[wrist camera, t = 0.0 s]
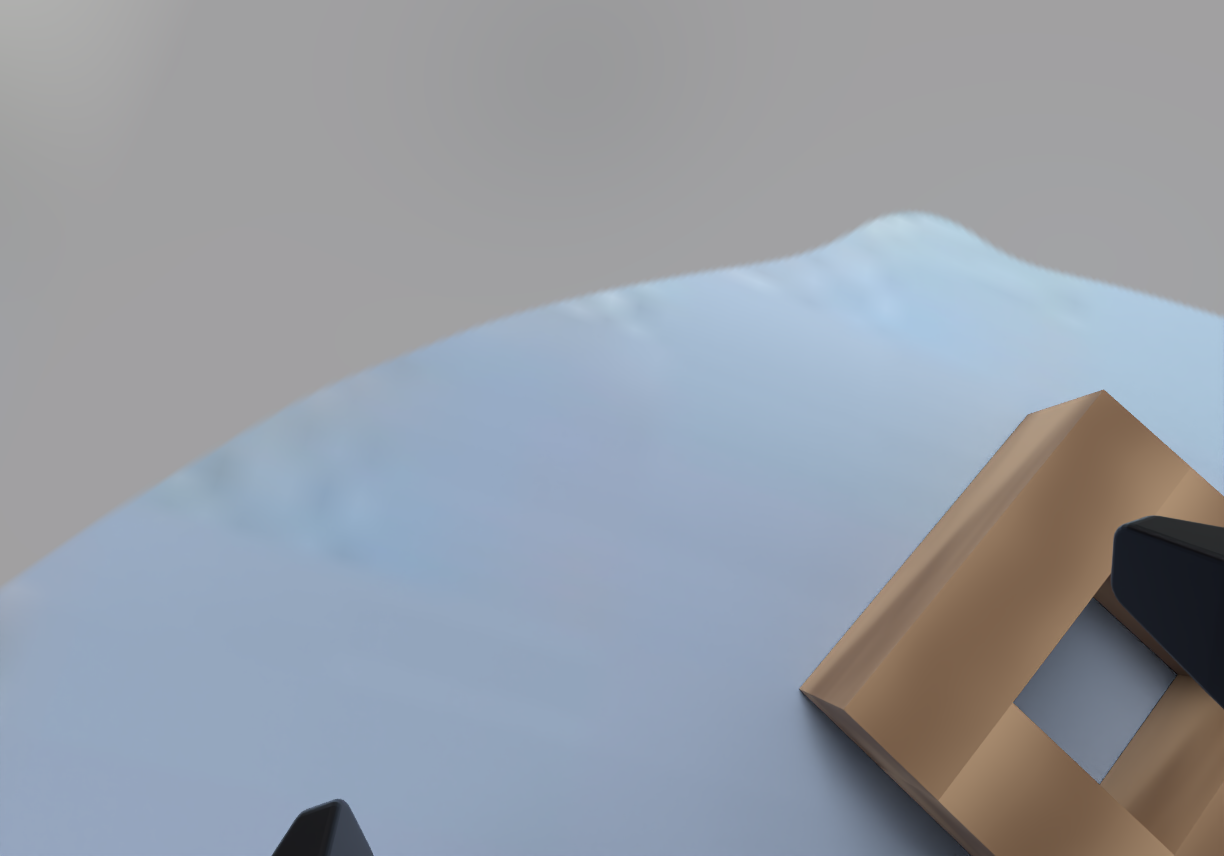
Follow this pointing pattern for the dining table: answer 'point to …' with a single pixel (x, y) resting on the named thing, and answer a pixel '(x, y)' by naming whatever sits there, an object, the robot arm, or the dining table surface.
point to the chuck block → (1031, 652)
